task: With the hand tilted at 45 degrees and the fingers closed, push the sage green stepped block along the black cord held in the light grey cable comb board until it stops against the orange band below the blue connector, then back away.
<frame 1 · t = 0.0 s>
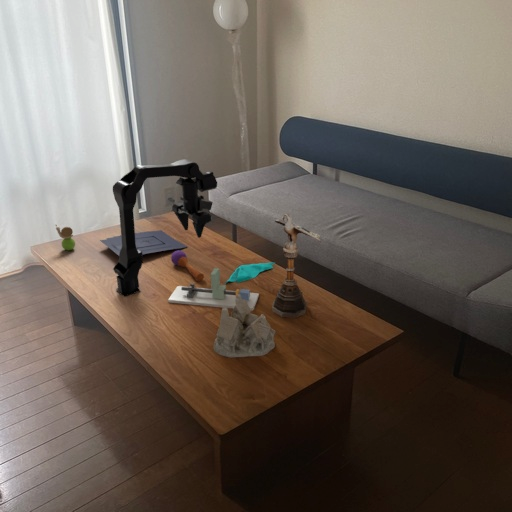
hand: (192, 233, 194), 15 cm above the table, fingers open, 9 cm apart
cloth: (249, 274, 198), on the table
bird statue: (292, 305, 175), on the table
papers: (143, 248, 219), on the table
snail figurine: (68, 250, 218), on the table
kendama: (187, 271, 199), on the table
sage green stepped block: (218, 283, 176), point 6 cm above the table, slide at 0.0 cm
ceramic cottage: (243, 346, 154), on the table
comb board: (214, 299, 179), on the table
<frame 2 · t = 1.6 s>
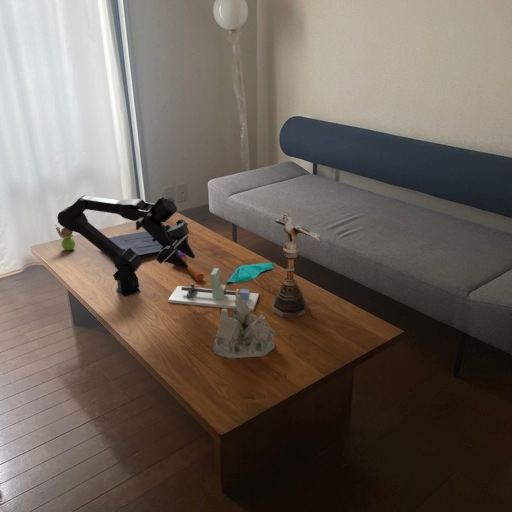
hand: (190, 262, 175), 13 cm above the table, fingers open, 7 cm apart
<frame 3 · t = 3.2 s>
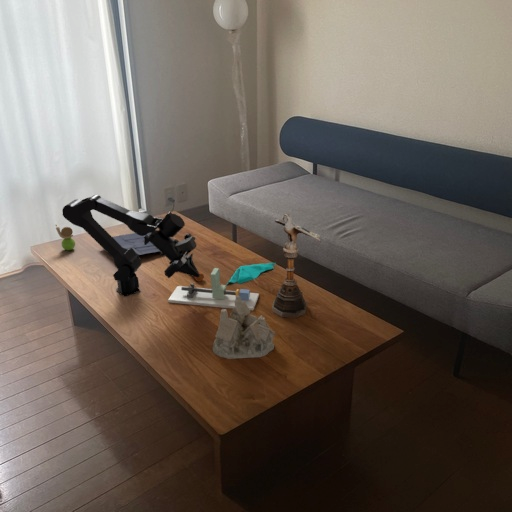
hand: (198, 276, 176), 9 cm above the table, fingers closed
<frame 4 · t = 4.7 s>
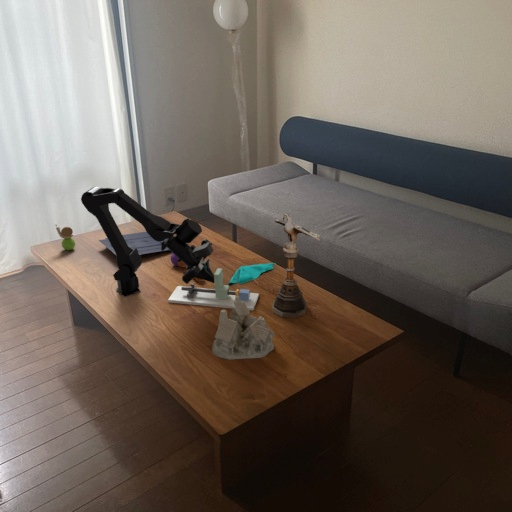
hand: (215, 281, 176), 7 cm above the table, fingers closed, pressing on sage green stepped block
sage green stepped block: (222, 284, 176), point 6 cm above the table, slide at 1.2 cm, touching gripper
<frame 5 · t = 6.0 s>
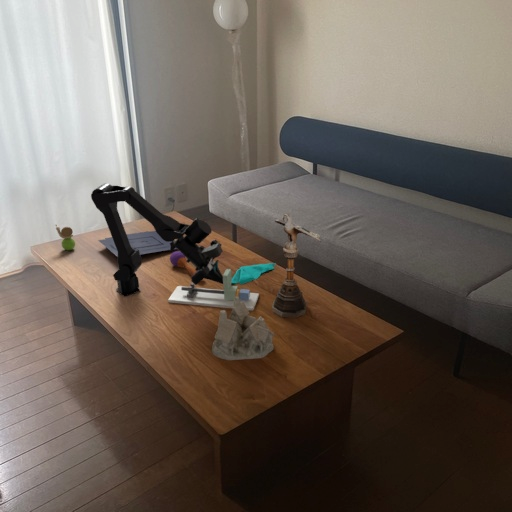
hand: (224, 282, 175), 7 cm above the table, fingers closed, pressing on sage green stepped block
sage green stepped block: (230, 285, 175), point 6 cm above the table, slide at 4.2 cm, touching comb board, gripper
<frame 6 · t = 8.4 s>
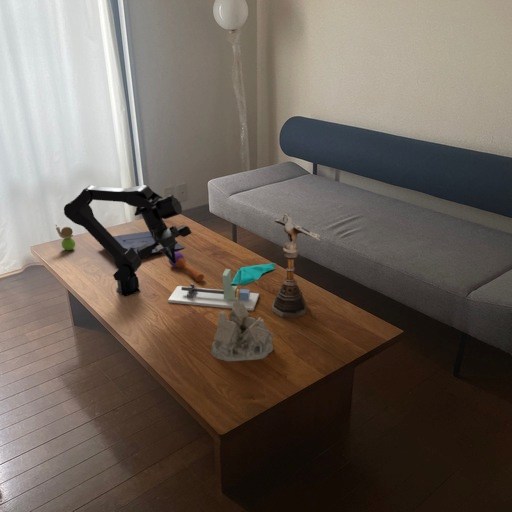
hand: (174, 263, 176), 13 cm above the table, fingers closed
sage green stepped block: (230, 284, 175), point 6 cm above the table, slide at 4.0 cm
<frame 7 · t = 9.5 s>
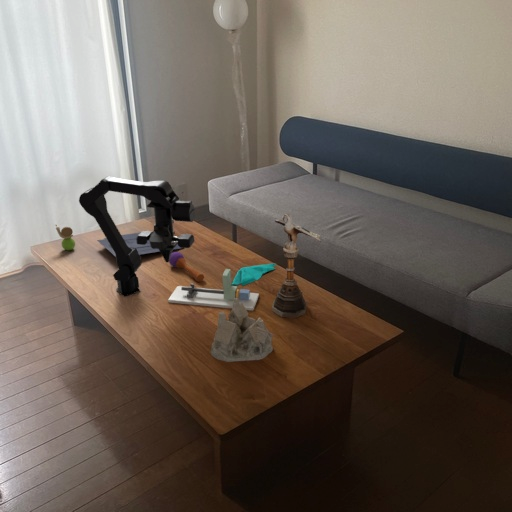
hand: (167, 261, 176), 13 cm above the table, fingers closed
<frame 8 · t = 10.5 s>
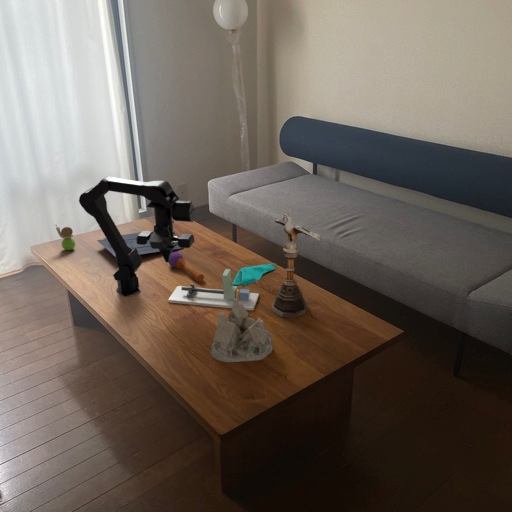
hand: (167, 261, 176), 13 cm above the table, fingers closed
at the end: sage green stepped block slide at 4.0 cm; kendama moved 1.5 cm from its start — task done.
